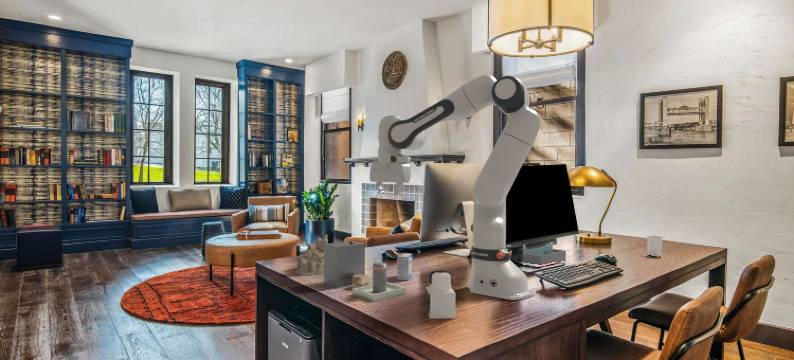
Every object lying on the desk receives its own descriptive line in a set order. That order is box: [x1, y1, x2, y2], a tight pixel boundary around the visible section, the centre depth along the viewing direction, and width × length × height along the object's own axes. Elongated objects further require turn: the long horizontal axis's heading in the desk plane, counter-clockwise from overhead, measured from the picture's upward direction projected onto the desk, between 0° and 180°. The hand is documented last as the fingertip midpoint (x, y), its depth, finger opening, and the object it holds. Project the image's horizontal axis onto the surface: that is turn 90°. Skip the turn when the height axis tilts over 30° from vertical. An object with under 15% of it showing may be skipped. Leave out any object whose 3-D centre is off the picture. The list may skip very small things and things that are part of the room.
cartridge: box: [372, 262, 388, 293], centre depth 144 cm, size 4×4×9 cm
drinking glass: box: [646, 234, 664, 256], centre depth 218 cm, size 7×7×10 cm
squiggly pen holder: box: [523, 241, 554, 256], centre depth 203 cm, size 18×10×9 cm, turn 115°
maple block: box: [351, 274, 370, 289], centre depth 153 cm, size 4×4×4 cm
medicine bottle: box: [425, 270, 456, 320], centre depth 124 cm, size 7×7×12 cm
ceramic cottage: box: [294, 234, 329, 277], centre depth 178 cm, size 16×16×15 cm
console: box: [323, 240, 366, 289], centre depth 159 cm, size 9×12×15 cm
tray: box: [351, 281, 407, 303], centre depth 145 cm, size 10×14×2 cm
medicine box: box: [396, 252, 413, 281], centre depth 168 cm, size 8×4×9 cm, turn 169°
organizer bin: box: [523, 248, 567, 265], centre depth 199 cm, size 14×22×5 cm, turn 133°
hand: (389, 194), depth 172 cm, fingers open, 8 cm apart
